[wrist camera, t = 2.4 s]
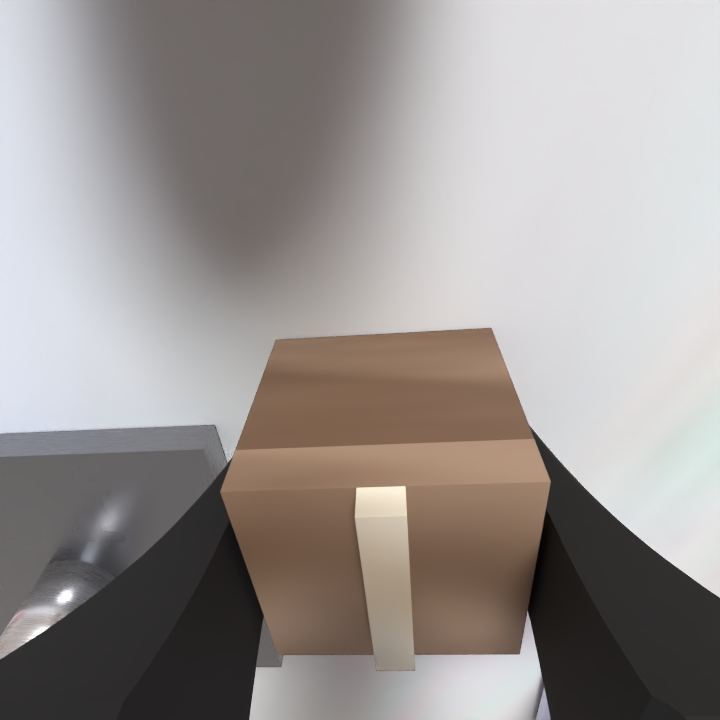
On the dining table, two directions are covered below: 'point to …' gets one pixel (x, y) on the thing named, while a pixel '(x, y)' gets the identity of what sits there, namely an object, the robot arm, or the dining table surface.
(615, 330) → the dining table surface
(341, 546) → the taped cardboard box
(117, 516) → the hub plate
